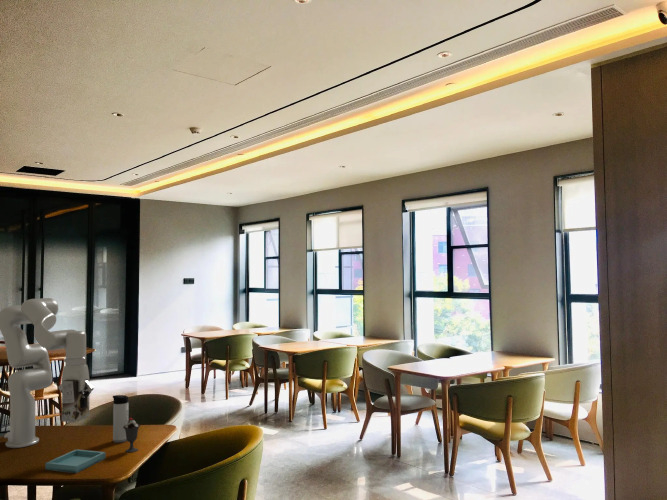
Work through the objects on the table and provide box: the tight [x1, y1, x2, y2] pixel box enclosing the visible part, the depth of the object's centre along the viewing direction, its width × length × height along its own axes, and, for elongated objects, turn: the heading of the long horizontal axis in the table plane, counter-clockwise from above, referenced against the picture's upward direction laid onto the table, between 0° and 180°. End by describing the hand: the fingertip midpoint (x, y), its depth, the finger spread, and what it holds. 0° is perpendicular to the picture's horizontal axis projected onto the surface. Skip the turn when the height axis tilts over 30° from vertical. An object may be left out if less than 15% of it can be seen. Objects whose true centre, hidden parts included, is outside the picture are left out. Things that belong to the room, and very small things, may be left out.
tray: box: [44, 449, 107, 474], centre depth 211 cm, size 14×16×2 cm
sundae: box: [123, 413, 141, 454], centre depth 227 cm, size 7×7×15 cm
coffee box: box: [61, 376, 90, 423], centre depth 218 cm, size 9×6×16 cm
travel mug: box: [112, 394, 130, 444], centre depth 240 cm, size 6×7×20 cm
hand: (75, 406), depth 218 cm, fingers closed on coffee box, 6 cm apart
